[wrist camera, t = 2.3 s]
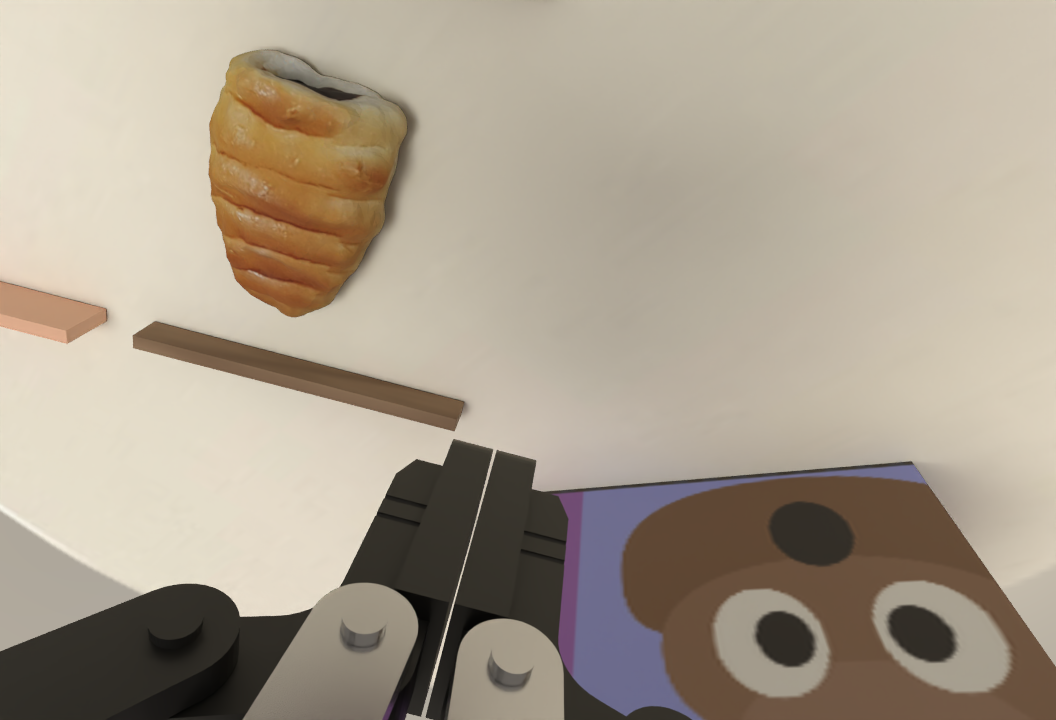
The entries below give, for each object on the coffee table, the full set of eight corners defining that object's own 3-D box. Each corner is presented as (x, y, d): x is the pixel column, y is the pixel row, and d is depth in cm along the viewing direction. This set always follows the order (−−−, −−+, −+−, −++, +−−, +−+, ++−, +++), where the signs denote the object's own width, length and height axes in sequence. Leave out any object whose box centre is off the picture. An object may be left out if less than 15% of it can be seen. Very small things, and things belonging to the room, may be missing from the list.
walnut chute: (141, -132, 22) (110, -143, 20) (557, -23, 22) (553, -26, 20) (154, 333, 29) (133, 347, 28) (461, 413, 30) (454, 431, 28)
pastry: (369, 322, 28) (335, 361, 25) (217, 269, 28) (161, 301, 25) (422, 98, 24) (389, 109, 21) (243, 33, 24) (181, 33, 20)
